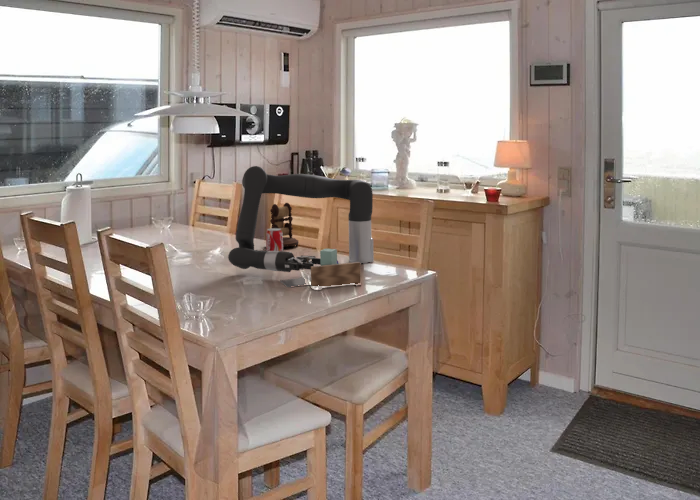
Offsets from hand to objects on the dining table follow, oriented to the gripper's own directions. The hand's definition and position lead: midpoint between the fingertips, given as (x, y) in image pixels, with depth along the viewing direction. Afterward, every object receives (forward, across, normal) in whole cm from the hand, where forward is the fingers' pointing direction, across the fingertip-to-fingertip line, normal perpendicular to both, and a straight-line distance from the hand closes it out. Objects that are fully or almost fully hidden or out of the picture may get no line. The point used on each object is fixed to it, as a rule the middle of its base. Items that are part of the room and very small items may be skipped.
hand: (318, 264), depth 263 cm
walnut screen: (+9, -5, +6) cm, 12 cm away
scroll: (-45, +55, +7) cm, 71 cm away
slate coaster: (-6, -5, +6) cm, 10 cm away
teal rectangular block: (+4, 0, +6) cm, 8 cm away
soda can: (-37, +34, +7) cm, 50 cm away
